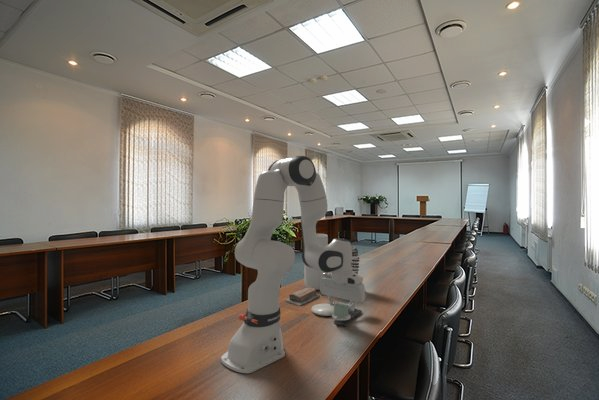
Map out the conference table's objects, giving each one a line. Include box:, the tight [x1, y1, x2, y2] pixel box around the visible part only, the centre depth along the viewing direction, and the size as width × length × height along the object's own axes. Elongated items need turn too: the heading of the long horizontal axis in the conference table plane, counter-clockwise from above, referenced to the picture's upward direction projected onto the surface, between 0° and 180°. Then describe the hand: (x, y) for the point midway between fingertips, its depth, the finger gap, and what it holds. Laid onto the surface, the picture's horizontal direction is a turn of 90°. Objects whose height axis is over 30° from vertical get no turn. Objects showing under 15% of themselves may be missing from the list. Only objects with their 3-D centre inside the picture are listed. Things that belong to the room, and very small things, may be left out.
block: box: [334, 301, 349, 318], centre depth 124 cm, size 4×4×4 cm
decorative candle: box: [351, 246, 360, 275], centre depth 169 cm, size 9×9×25 cm
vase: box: [303, 233, 329, 291], centre depth 175 cm, size 14×14×32 cm
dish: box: [311, 303, 334, 317], centre depth 137 cm, size 13×13×2 cm
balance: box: [331, 300, 363, 327], centre depth 130 cm, size 22×8×10 cm, turn 145°
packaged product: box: [284, 287, 320, 307], centre depth 154 cm, size 18×5×10 cm
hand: (341, 307), depth 124 cm, fingers open, 8 cm apart
